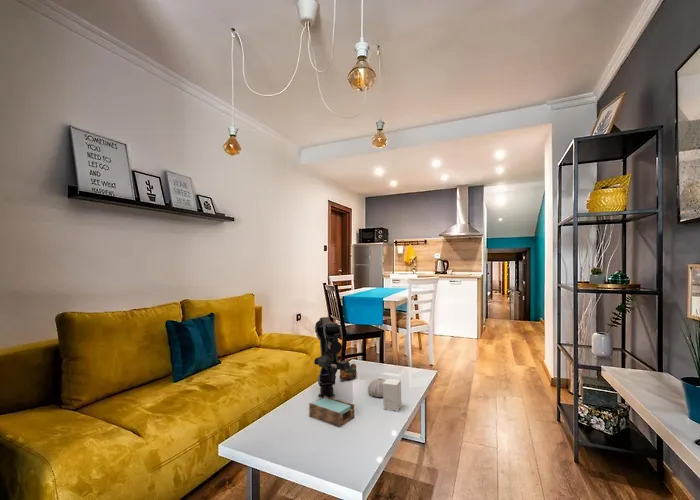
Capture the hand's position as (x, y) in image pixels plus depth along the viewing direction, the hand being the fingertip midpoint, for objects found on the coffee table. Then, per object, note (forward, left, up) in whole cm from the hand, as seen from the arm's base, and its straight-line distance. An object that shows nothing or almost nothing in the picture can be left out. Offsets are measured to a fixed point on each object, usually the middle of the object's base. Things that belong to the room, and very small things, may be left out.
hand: (331, 380), depth 161 cm
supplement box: (+25, +17, -13) cm, 33 cm away
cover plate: (+7, -8, -9) cm, 14 cm away
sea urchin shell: (+11, +28, -13) cm, 33 cm away
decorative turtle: (-18, +37, -13) cm, 44 cm away
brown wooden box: (+7, -8, -13) cm, 17 cm away
